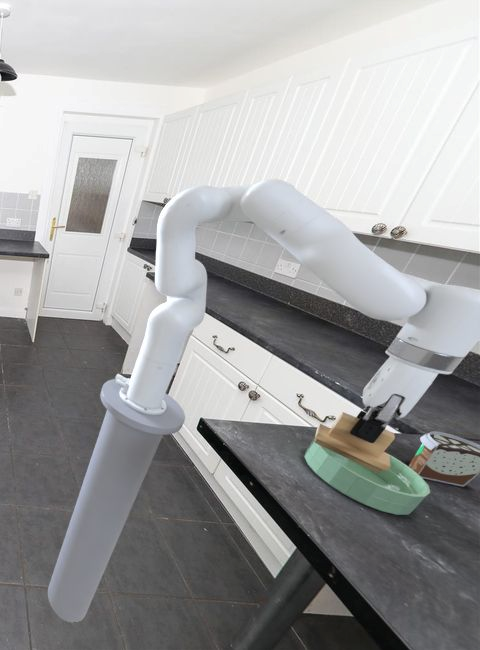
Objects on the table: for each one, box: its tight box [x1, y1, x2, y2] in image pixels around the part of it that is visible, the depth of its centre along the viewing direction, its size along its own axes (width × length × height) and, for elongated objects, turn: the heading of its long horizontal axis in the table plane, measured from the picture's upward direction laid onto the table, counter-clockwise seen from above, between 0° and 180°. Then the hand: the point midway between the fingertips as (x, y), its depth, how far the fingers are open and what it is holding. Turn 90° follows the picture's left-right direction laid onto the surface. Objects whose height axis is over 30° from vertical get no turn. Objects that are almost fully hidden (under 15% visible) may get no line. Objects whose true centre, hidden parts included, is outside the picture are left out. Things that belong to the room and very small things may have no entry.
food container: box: [407, 430, 480, 487], centre depth 78 cm, size 12×6×10 cm, turn 78°
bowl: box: [304, 437, 431, 516], centre depth 74 cm, size 17×17×6 cm
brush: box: [314, 411, 396, 473], centre depth 66 cm, size 10×5×8 cm, turn 40°
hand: (361, 434), depth 65 cm, fingers closed on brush, 2 cm apart
